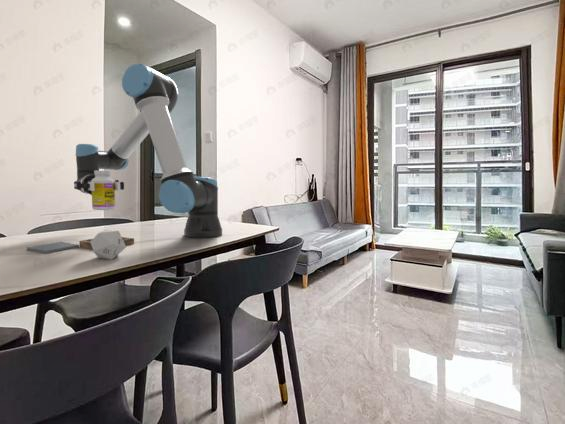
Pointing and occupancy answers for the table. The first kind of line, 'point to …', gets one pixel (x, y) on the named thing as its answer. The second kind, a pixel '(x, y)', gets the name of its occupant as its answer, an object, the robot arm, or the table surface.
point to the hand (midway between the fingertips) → (106, 186)
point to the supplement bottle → (103, 191)
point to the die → (108, 244)
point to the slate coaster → (52, 247)
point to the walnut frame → (88, 245)
